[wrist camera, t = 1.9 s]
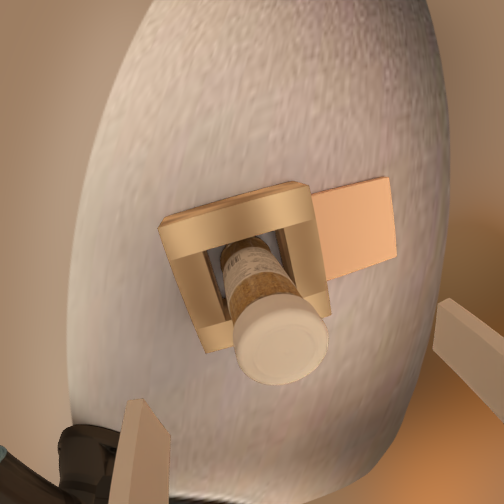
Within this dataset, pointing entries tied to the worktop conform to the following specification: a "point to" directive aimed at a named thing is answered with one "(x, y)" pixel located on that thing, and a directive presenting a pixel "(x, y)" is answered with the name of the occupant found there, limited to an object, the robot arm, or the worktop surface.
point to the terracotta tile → (355, 226)
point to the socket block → (234, 229)
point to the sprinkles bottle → (269, 316)
